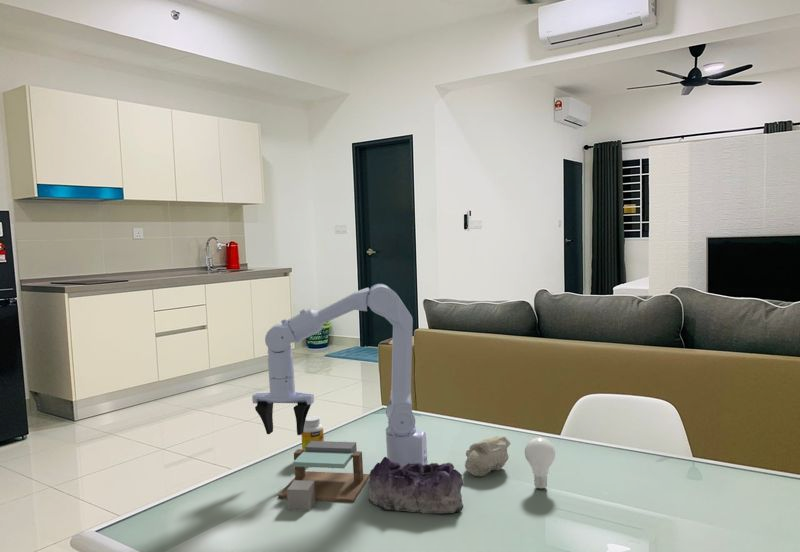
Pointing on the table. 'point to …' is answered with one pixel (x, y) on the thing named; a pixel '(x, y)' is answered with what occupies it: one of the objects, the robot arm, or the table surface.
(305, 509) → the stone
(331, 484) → the frame
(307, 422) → the supplement bottle
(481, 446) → the fossil replica
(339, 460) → the trapdoor
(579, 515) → the table surface
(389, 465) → the geode
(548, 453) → the lightbulb
